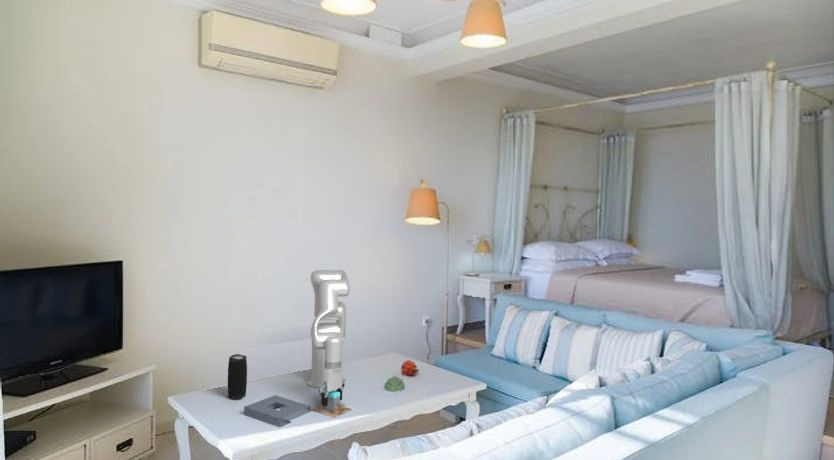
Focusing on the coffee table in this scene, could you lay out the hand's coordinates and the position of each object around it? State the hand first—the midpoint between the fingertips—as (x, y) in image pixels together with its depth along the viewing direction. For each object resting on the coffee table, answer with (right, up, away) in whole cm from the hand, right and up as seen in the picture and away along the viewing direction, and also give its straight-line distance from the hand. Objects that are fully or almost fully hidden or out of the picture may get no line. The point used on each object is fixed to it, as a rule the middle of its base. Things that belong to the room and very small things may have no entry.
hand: (331, 402), depth 243 cm
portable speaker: (-47, -2, +14) cm, 49 cm away
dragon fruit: (+34, -3, +57) cm, 66 cm away
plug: (0, -4, 0) cm, 4 cm away
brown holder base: (0, -5, 0) cm, 5 cm away
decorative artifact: (+26, -4, +34) cm, 44 cm away
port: (-23, -4, -4) cm, 24 cm away
